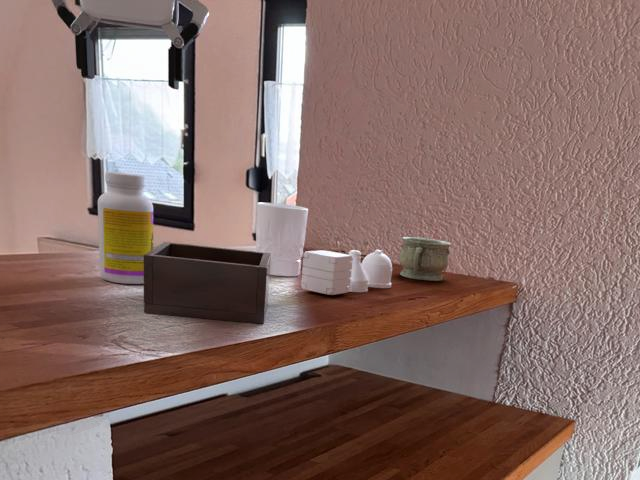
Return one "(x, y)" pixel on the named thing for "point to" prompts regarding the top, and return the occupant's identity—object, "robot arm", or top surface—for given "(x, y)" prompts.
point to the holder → (207, 282)
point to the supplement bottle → (124, 228)
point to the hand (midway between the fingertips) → (131, 83)
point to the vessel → (424, 258)
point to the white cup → (281, 236)
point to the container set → (345, 272)
